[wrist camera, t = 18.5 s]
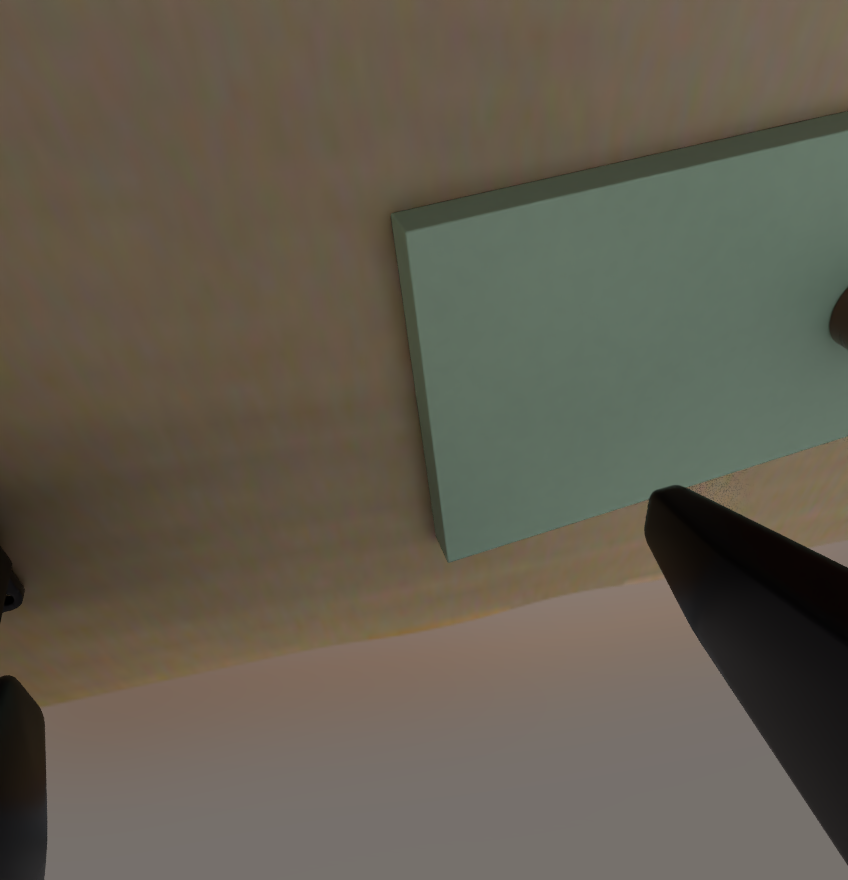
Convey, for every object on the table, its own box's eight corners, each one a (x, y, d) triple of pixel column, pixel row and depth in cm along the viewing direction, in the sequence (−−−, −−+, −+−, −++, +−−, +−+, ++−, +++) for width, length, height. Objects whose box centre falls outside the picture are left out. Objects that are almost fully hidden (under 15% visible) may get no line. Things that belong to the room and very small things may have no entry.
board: (435, 536, 27) (447, 563, 26) (389, 212, 19) (405, 232, 18) (902, 391, 31) (931, 410, 30) (1032, 69, 23) (1078, 77, 22)
